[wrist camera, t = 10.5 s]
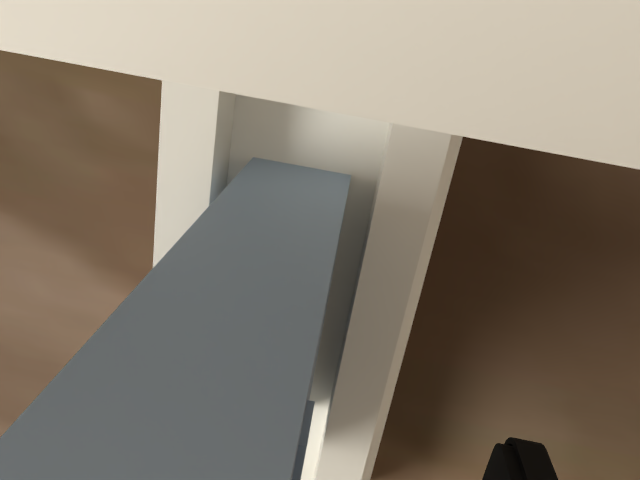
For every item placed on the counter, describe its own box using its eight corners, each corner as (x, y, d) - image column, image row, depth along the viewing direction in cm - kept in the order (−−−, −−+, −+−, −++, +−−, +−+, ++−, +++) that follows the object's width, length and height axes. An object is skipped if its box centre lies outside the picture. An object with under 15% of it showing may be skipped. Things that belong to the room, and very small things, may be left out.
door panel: (311, 406, 16) (213, 943, 7) (223, 389, 16) (8, 895, 7) (355, 176, 13) (289, 551, 4) (248, 156, 13) (-53, 479, 4)
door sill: (363, 482, 18) (342, 964, 9) (156, 438, 18) (-71, 865, 9) (495, -14, 12) (830, -94, 3) (188, -69, 12) (-356, -292, 3)
